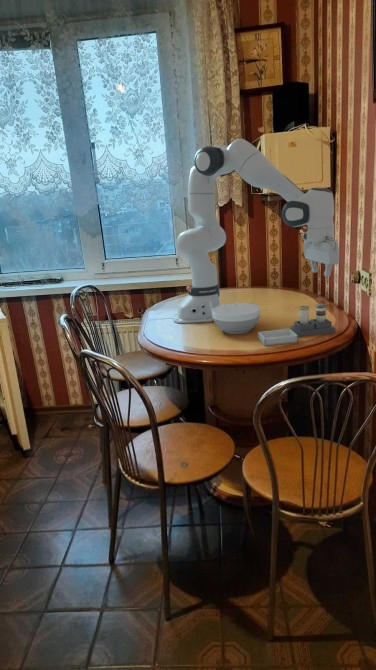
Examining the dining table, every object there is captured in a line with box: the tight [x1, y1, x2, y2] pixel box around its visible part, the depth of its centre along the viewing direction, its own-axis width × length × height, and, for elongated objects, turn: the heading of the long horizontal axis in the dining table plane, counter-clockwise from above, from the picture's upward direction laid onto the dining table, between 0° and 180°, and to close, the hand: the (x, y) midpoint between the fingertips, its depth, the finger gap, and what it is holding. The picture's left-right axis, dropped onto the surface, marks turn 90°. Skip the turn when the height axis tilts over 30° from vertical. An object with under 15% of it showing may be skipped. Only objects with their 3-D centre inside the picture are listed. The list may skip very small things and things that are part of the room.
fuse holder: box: [290, 318, 336, 338], centre depth 175 cm, size 14×8×4 cm, turn 97°
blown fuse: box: [315, 303, 327, 323], centre depth 174 cm, size 4×4×8 cm
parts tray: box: [257, 328, 299, 347], centre depth 169 cm, size 12×9×2 cm
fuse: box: [298, 305, 310, 325], centre depth 173 cm, size 4×4×8 cm
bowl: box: [212, 302, 261, 335], centre depth 184 cm, size 19×19×9 cm
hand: (321, 274), depth 169 cm, fingers open, 8 cm apart
